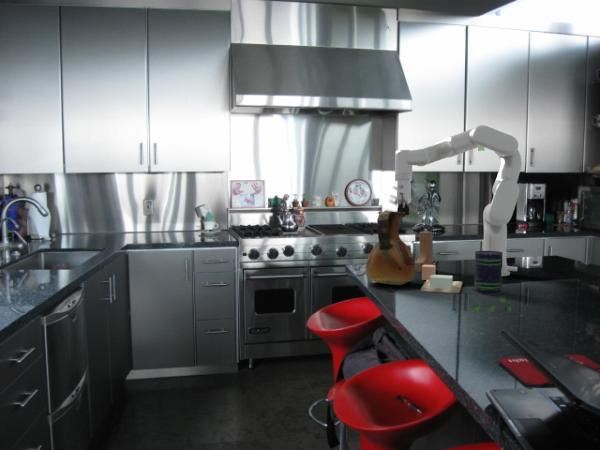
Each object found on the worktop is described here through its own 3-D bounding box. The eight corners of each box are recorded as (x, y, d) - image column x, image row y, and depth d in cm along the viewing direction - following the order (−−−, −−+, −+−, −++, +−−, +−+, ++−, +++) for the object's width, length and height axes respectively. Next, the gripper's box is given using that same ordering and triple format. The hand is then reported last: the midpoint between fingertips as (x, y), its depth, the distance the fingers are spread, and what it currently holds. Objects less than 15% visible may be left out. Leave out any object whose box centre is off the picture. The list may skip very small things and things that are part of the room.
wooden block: (421, 272, 245) (421, 233, 243) (413, 271, 248) (413, 232, 247) (432, 270, 251) (433, 231, 249) (424, 269, 254) (425, 231, 252)
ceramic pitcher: (420, 281, 225) (420, 209, 222) (408, 290, 206) (408, 212, 204) (374, 278, 233) (374, 208, 230) (359, 287, 215) (359, 211, 212)
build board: (462, 284, 218) (462, 281, 217) (459, 293, 201) (459, 290, 201) (426, 282, 222) (426, 279, 222) (421, 290, 206) (421, 288, 205)
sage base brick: (452, 285, 209) (452, 275, 209) (451, 288, 204) (451, 278, 203) (431, 284, 212) (431, 274, 212) (429, 287, 206) (429, 277, 206)
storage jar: (502, 290, 205) (502, 251, 204) (502, 295, 196) (503, 254, 194) (474, 288, 208) (474, 250, 207) (473, 294, 199) (474, 253, 198)
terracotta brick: (435, 279, 229) (435, 265, 229) (434, 281, 225) (434, 267, 224) (423, 278, 231) (423, 264, 231) (421, 280, 226) (421, 266, 226)
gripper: (408, 177, 232) (408, 217, 234) (415, 177, 248) (415, 214, 250) (391, 177, 235) (391, 217, 237) (399, 177, 251) (399, 214, 253)
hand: (403, 216), depth 243 cm, fingers open, 9 cm apart
